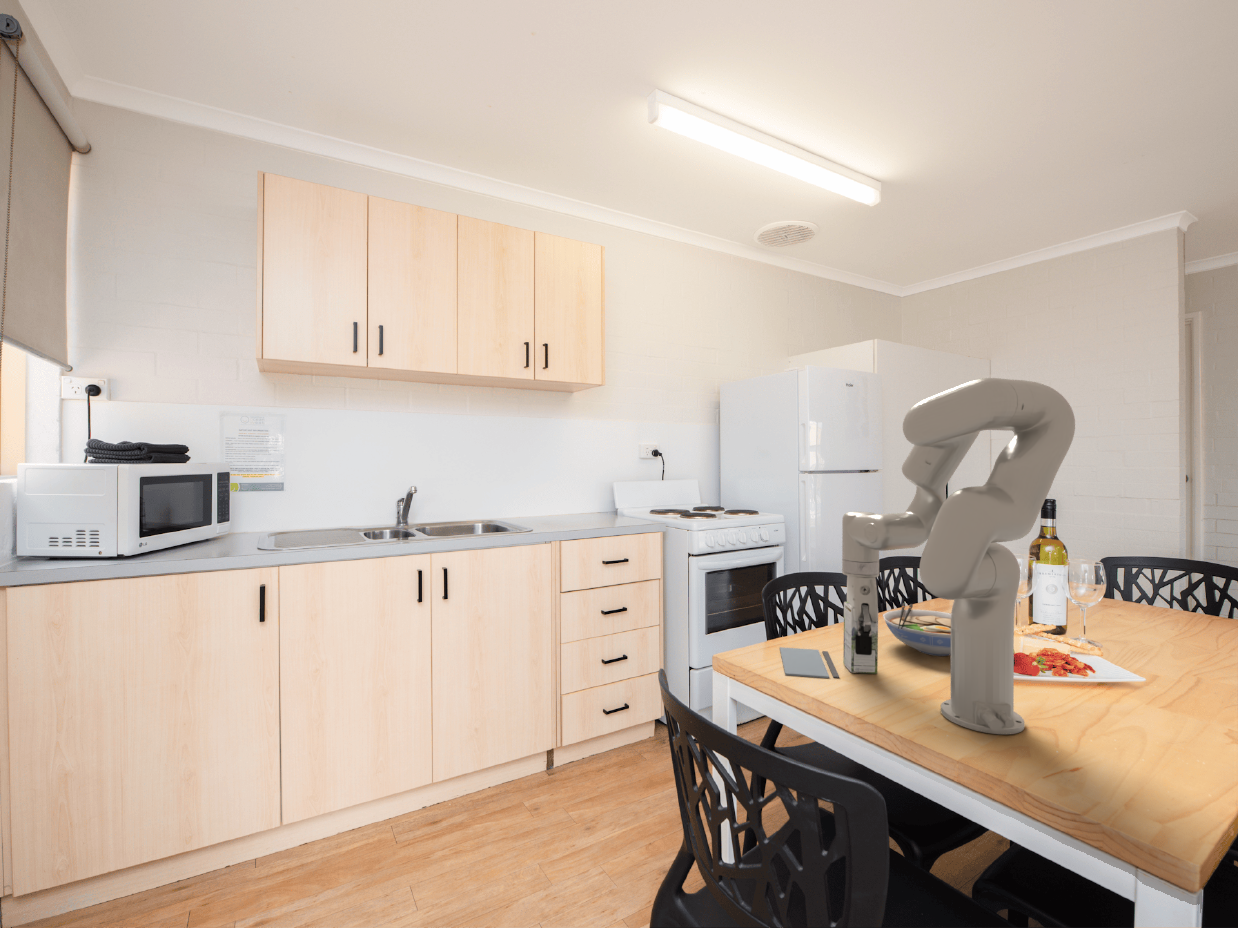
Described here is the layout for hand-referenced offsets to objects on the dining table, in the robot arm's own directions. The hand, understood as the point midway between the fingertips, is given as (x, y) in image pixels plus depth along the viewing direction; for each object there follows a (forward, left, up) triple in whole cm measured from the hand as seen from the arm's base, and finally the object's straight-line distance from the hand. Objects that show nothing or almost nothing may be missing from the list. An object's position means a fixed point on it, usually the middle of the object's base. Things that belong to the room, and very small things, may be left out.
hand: (860, 648), depth 127 cm
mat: (+2, +12, -5) cm, 13 cm away
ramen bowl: (+17, -20, -5) cm, 27 cm away
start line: (+2, +6, -5) cm, 8 cm away
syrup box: (0, 0, -5) cm, 5 cm away
